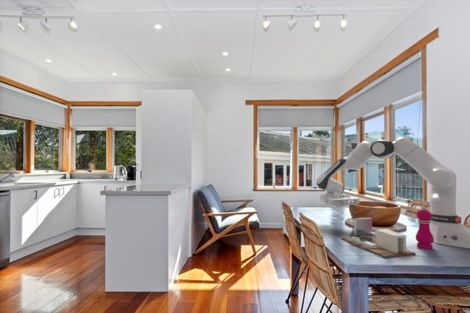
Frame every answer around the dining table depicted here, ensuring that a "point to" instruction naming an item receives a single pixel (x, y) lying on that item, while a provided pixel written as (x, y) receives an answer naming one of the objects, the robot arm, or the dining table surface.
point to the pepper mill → (424, 230)
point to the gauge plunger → (363, 227)
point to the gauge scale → (364, 242)
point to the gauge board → (378, 248)
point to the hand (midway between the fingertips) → (351, 202)
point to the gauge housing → (391, 240)
